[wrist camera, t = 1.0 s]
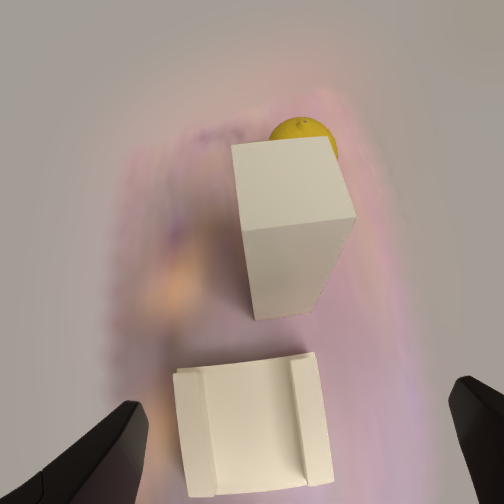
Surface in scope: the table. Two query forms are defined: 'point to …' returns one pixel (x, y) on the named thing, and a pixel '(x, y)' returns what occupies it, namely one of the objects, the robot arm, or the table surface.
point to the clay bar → (290, 220)
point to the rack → (252, 426)
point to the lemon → (302, 131)
